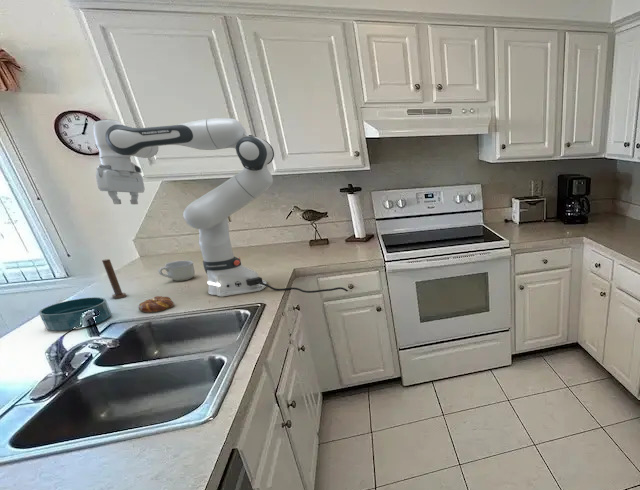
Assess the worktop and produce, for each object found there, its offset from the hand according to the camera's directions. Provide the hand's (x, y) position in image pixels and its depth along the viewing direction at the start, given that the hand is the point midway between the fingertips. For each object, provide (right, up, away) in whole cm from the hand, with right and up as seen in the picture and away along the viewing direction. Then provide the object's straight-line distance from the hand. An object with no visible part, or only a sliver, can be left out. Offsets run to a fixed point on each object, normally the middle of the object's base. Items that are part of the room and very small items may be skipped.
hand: (126, 204), depth 159 cm
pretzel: (+10, -40, +3) cm, 42 cm away
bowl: (-8, -46, -10) cm, 47 cm away
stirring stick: (-16, -35, +15) cm, 42 cm away
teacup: (-8, -27, +36) cm, 46 cm away
